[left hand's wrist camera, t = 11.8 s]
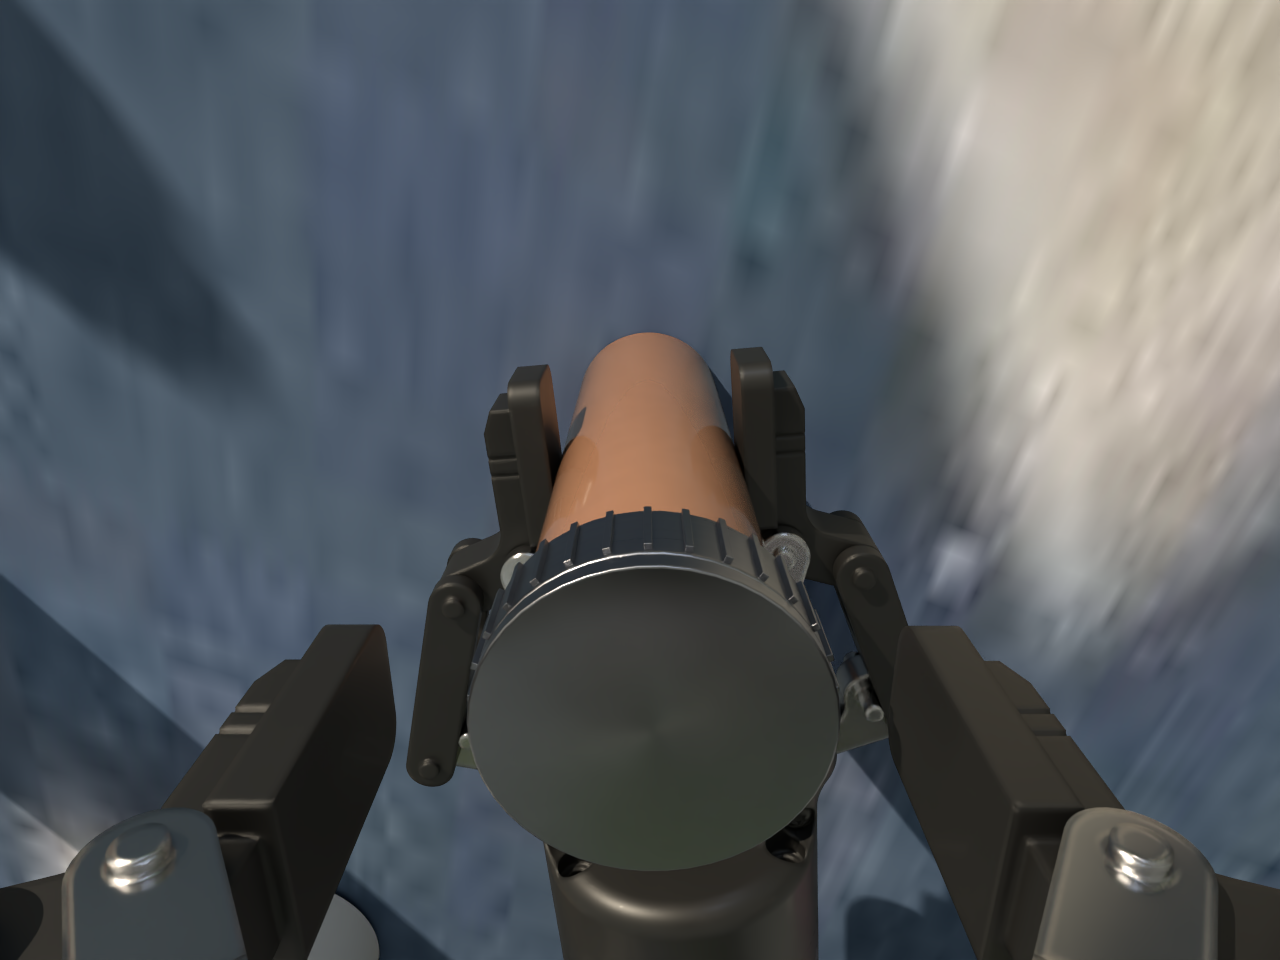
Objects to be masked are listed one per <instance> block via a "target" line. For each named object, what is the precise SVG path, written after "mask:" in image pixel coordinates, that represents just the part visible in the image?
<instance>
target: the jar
mask: <svg viewBox="0 0 1280 960" xmlns="http://www.w3.org/2000/svg"><path fill="white" fill-rule="evenodd" d="M644 506H651V507H652V511H669V512H678V513H681V511H682V508H683V509H689V511H690V515H695V516H699V517H703V518H707V519H710V520H713V521H715V522H717V520H718V518H721V519H724V520H726V525H727V526H729V527H731V528H733V529H735V530H737V531H739V532H740V533H742V534H744V535H746V536H748V537H749V536H750V535H751V534H754V535H756V536H757V537H758V540H759V543H760V545H761V546H762V547H764V548H765V549H766V547H765V544H764V541H763V537H762V534H761V531H760V528H759V524H758V521H757V518H756V515H755V511H754V508H753V505H752V502H751V498H750V495H749V492H748V489H747V485H746V482H745V479H744V476H743V472H742V469H741V466H740V463H739V460H738V456H737V453H736V450H735V447H734V443H733V440H732V437H731V434H730V430H729V427H728V424H727V421H726V417H725V414H724V411H723V408H722V404H721V401H720V398H719V395H718V391H717V388H716V385H715V382H714V378H713V376H712V374H711V371H710V369H709V367H708V366H707V364H706V362H705V361H704V360H703V358H702V357H701V356H700V355H699V354H698V353H697V352H696V351H695V350H694V349H693V348H691V347H690V346H689V345H687V344H686V343H684V342H682V341H681V340H679V339H676V338H674V337H671V336H668V335H664V334H659V333H638V334H633V335H629V336H626V337H623V338H621V339H618V340H616V341H614V342H613V343H611V344H609V345H608V346H607V347H605V348H604V349H603V350H602V351H601V352H600V353H599V354H598V355H597V356H596V357H595V358H594V359H593V361H592V362H591V364H590V365H589V367H588V369H587V371H586V373H585V375H584V378H583V381H582V384H581V388H580V392H579V395H578V399H577V403H576V406H575V410H574V414H573V417H572V421H571V425H570V428H569V432H568V436H567V439H566V443H565V446H564V450H563V454H562V457H561V461H560V465H559V468H558V472H557V476H556V479H555V483H554V487H553V490H552V494H551V498H550V501H549V505H548V509H547V512H546V516H545V520H544V523H543V527H542V530H541V534H540V538H539V541H538V545H537V549H536V552H537V551H538V548H539V544H540V542H541V541H543V540H544V539H546V540H547V541H548V542H550V541H551V540H553V539H554V538H556V537H558V536H560V535H562V534H563V533H565V532H567V531H569V530H570V526H571V524H572V523H574V522H578V523H579V525H582V524H585V523H587V522H590V521H592V520H595V519H599V518H603V517H606V512H607V511H612V510H613V511H614V514H620V513H628V512H635V511H644ZM536 552H535V553H536Z"/></svg>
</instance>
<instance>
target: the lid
mask: <svg viewBox="0 0 1280 960" xmlns="http://www.w3.org/2000/svg"><path fill="white" fill-rule="evenodd" d="M831 661H834V657H833V654H832V651H831V649H830V646H829V643H828V641H827V638H826V636H825V633H824V630H823V628H822V625H821V622H820V620H819V617H818V614H817V612H816V609H814V610H813V607H812V604H811V601H810V599H809V596H808V593H807V591H806V588H805V585H804V584H803V582H802V581H799V582H797V583H796V582H795V580H794V578H793V577H792V576H791V575H790V573H789V571H788V568H787V565H786V562H785V559H784V558H783V557H782V556H781V555H779V556H778V557H776V558H775V557H774V556H773V555H772V554H771V553H770V552H769V551H768V550H766V549H765V548H764V547H762V546H761V545H760V543H759V540H758V537H757V536H756V535H754V534H751V535H750V536H749V537H748V536H746V535H744V534H742V533H740V532H739V531H737V530H735V529H733V528H731V527H729V526H727V525H726V520H724V519H721V518H718V520H717V522H715V521H713V520H710V519H707V518H703V517H699V516H695V515H690V511H689V509H683V508H682V511H681V513H678V512H669V511H652V507H651V506H644V511H635V512H628V513H620V514H614V511H613V510H612V511H607V512H606V517H603V518H599V519H595V520H592V521H590V522H587V523H585V524H582V525H579V523H578V522H574V523H572V524H571V526H570V530H569V531H567V532H565V533H563V534H562V535H560V536H558V537H556V538H554V539H553V540H551V541H550V542H548V541H547V540H546V539H544V540H543V541H541V542H540V544H539V548H538V551H537V552H536V553H535V554H533V555H532V556H531V557H530V558H529V559H528V560H527V561H526V562H525V563H524V564H522V563H521V562H518V563H517V564H516V565H515V567H514V571H513V574H512V577H511V580H510V582H509V583H508V585H507V587H506V589H505V590H503V589H500V588H499V590H498V592H497V593H496V596H495V599H494V602H493V605H492V608H491V611H490V614H489V617H487V619H486V622H485V625H484V628H483V631H482V634H481V637H480V640H479V643H478V646H477V649H476V652H475V655H474V657H473V660H472V663H471V667H470V669H472V670H475V673H474V676H473V679H472V682H471V685H470V688H469V691H468V694H467V701H468V704H467V729H468V737H469V744H470V747H471V751H472V754H473V758H474V761H475V764H476V766H477V768H478V770H479V773H480V775H481V777H482V779H483V781H484V783H485V784H486V786H487V788H488V789H489V791H490V792H491V794H492V795H493V797H494V798H495V800H496V801H497V802H498V803H499V804H500V805H501V807H502V808H503V809H504V810H505V811H506V813H507V814H508V815H510V816H511V817H512V818H513V819H514V820H515V821H516V822H517V823H518V824H519V825H521V826H522V827H523V828H524V829H526V830H527V831H528V832H530V833H531V834H533V835H534V836H535V837H537V838H538V839H540V840H541V841H543V842H545V843H547V844H549V845H550V846H552V847H554V848H556V849H558V850H560V851H562V852H564V853H567V854H569V855H572V856H574V857H576V858H579V859H582V860H586V861H589V862H592V863H596V864H599V865H604V866H609V867H614V868H619V869H627V870H639V871H669V870H679V869H688V868H693V867H698V866H703V865H707V864H712V863H715V862H718V861H721V860H724V859H727V858H730V857H733V856H735V855H738V854H740V853H742V852H744V851H747V850H749V849H751V848H753V847H755V846H757V845H758V844H760V843H762V842H763V841H765V840H767V839H769V838H770V837H772V836H773V835H774V834H776V833H777V832H778V831H780V830H781V829H782V828H784V827H785V826H786V825H788V824H789V823H790V822H791V821H792V820H793V819H794V818H795V817H796V816H797V815H798V814H799V813H800V812H801V811H802V810H803V809H804V808H805V807H806V805H807V804H808V803H809V802H810V801H811V799H812V798H813V797H814V796H815V794H816V793H817V791H818V789H819V788H820V786H821V784H822V783H823V781H824V779H825V778H826V776H827V773H828V771H829V768H830V766H831V764H832V761H833V759H834V755H835V751H836V747H837V743H838V740H839V731H840V720H841V715H840V701H839V695H838V693H840V689H839V684H838V682H837V679H836V676H835V673H834V671H833V668H832V665H831V663H830V662H831Z"/></svg>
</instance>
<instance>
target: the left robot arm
mask: <svg viewBox="0 0 1280 960" xmlns="http://www.w3.org/2000/svg"><path fill="white" fill-rule="evenodd" d="M235 708H236V710H235V712H232V713H231V714H230V715H229V717H228V718H227V719H226V721H225V722H224V723H223V725H222V726H221V727H220V732H219V734H215V736H214V737H213V738H212V740H211V741H210V742H209V744H208V745H207V746H206V748H205V749H204V751H203V752H202V753H201V755H200V756H199V757H198V759H197V760H196V761H195V763H194V764H193V765H192V767H191V768H190V769H189V771H188V772H187V774H186V775H185V776H184V778H183V779H182V780H181V782H180V783H179V784H178V786H177V787H176V788H175V790H174V791H173V792H172V794H171V795H170V797H169V798H168V799H167V801H166V802H165V803H164V805H163V806H162V807H161V809H157V810H153V811H148V812H145V813H142V814H139V815H136V816H134V817H131V818H129V819H126V820H124V821H122V822H120V823H118V824H116V825H114V826H112V827H111V828H109V829H107V830H106V831H104V832H103V833H101V834H100V835H98V836H97V837H96V838H94V839H93V840H92V841H90V842H89V843H88V844H87V845H86V846H85V847H84V848H83V849H82V850H81V851H80V852H79V853H78V854H77V855H76V856H75V858H74V859H73V860H72V862H71V863H70V865H69V866H68V868H67V870H66V872H65V873H62V874H58V875H54V876H50V877H46V878H42V879H38V880H33V881H29V882H25V883H21V884H17V885H13V886H8V887H4V888H0V960H307V959H308V957H309V954H310V952H311V949H312V947H313V945H314V942H315V940H316V937H317V935H318V933H319V930H320V928H321V925H322V923H323V921H324V918H325V916H326V913H327V911H328V909H329V906H330V904H331V901H332V899H333V897H334V894H335V892H336V889H337V887H338V884H339V882H340V880H341V877H342V875H343V872H344V870H345V868H346V865H347V863H348V860H349V858H350V856H351V853H352V851H353V848H354V846H355V844H356V841H357V839H358V836H359V834H360V832H361V829H362V827H363V824H364V822H365V820H366V817H367V815H368V812H369V810H370V808H371V805H372V803H373V800H374V798H375V796H376V793H377V791H378V788H379V786H380V783H381V781H382V779H383V776H384V774H385V771H386V769H387V767H388V764H389V762H390V759H391V756H392V753H393V748H394V743H395V736H396V711H395V704H394V696H393V689H392V681H391V674H390V666H389V658H388V651H387V643H386V637H385V633H384V630H383V628H382V627H381V626H380V625H325V626H324V627H323V628H322V629H321V631H320V632H319V634H318V635H317V636H316V638H315V639H314V641H313V642H312V644H311V645H310V647H309V648H308V650H307V651H306V653H305V654H304V656H303V657H302V659H301V660H284V661H283V662H281V663H280V664H279V665H277V666H276V667H274V668H273V669H271V670H270V671H269V672H267V673H266V674H264V675H263V676H262V677H260V678H259V679H257V680H256V681H255V682H254V683H253V684H252V686H251V687H250V688H249V690H248V691H247V692H246V694H245V695H244V696H243V698H242V699H241V700H240V702H239V703H238V704H237V706H236V707H235ZM888 737H889V744H890V750H891V754H892V757H893V760H894V763H895V766H896V768H897V770H898V773H899V775H900V777H901V780H902V782H903V784H904V787H905V789H906V792H907V794H908V796H909V799H910V801H911V803H912V806H913V808H914V811H915V813H916V815H917V818H918V820H919V822H920V825H921V827H922V830H923V832H924V834H925V837H926V839H927V841H928V844H929V846H930V849H931V851H932V853H933V856H934V858H935V860H936V863H937V865H938V867H939V870H940V872H941V875H942V877H943V879H944V882H945V884H946V886H947V889H948V891H949V894H950V896H951V898H952V901H953V903H954V905H955V908H956V910H957V913H958V915H959V917H960V920H961V922H962V924H963V927H964V929H965V932H966V934H967V936H968V939H969V941H970V943H971V946H972V948H973V950H974V953H975V955H976V958H977V960H1280V889H1276V888H1271V887H1267V886H1263V885H1259V884H1255V883H1251V882H1246V881H1242V880H1238V879H1234V878H1230V877H1226V876H1223V875H1219V874H1216V873H1215V872H1214V870H1213V868H1212V866H1211V865H1210V863H1209V862H1208V860H1207V859H1206V858H1205V856H1204V855H1203V854H1202V853H1201V852H1200V851H1199V850H1198V849H1197V848H1196V847H1195V846H1194V845H1193V844H1192V843H1191V842H1190V841H1188V840H1187V839H1186V838H1184V837H1183V836H1182V835H1180V834H1179V833H1177V832H1176V831H1174V830H1173V829H1171V828H1169V827H1168V826H1166V825H1164V824H1162V823H1160V822H1158V821H1156V820H1154V819H1151V818H1149V817H1146V816H1144V815H1141V814H1138V813H1135V812H1132V811H1127V810H1125V809H1124V808H1123V806H1122V805H1121V804H1120V802H1119V801H1118V800H1117V798H1116V797H1115V796H1114V794H1113V793H1112V792H1111V790H1110V789H1109V788H1108V786H1107V785H1106V784H1105V782H1104V781H1103V780H1102V778H1101V777H1100V775H1099V774H1098V773H1097V771H1096V770H1095V769H1094V767H1093V766H1092V765H1091V763H1090V762H1089V761H1088V759H1087V758H1086V757H1085V755H1084V754H1083V753H1082V751H1081V750H1080V749H1079V747H1078V746H1077V745H1076V743H1075V742H1074V741H1073V739H1072V738H1071V737H1070V736H1067V735H1066V730H1065V729H1064V727H1063V726H1062V725H1061V723H1060V722H1059V721H1058V719H1057V718H1056V717H1055V715H1054V714H1050V708H1049V707H1048V706H1047V704H1046V703H1045V702H1044V700H1043V699H1042V698H1041V696H1040V695H1039V694H1038V692H1037V691H1036V690H1035V688H1034V687H1033V686H1032V684H1031V683H1030V682H1028V681H1027V680H1025V679H1024V678H1023V677H1021V676H1020V675H1018V674H1017V673H1016V672H1014V671H1013V670H1011V669H1010V668H1008V667H1007V666H1006V665H1004V664H1003V663H1001V662H1000V661H984V660H983V659H982V657H981V656H980V654H979V653H978V651H977V650H976V649H975V647H974V646H973V644H972V643H971V641H970V640H969V638H968V637H967V635H966V634H965V632H964V631H963V630H962V629H961V628H960V627H958V626H905V627H903V629H902V630H901V632H900V635H899V640H898V646H897V653H896V661H895V668H894V676H893V683H892V690H891V698H890V705H889V713H888Z"/></svg>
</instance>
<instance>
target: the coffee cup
mask: <svg viewBox="0 0 1280 960" xmlns="http://www.w3.org/2000/svg"><path fill="white" fill-rule="evenodd" d="M378 959H379V944H378V940H377V937H376V934H375V932H374V930H373V928H372V926H371V925H370V923H369V922H368V920H367V919H366V918H365V916H364V915H363V914H362V913H361V912H360V911H359V910H358V909H357V908H355V907H354V906H353V905H352V904H350V903H349V902H348V901H346V900H345V899H343V898H341V897H340V896H338V895H336V894H334V897H333V899H332V901H331V904H330V906H329V909H328V911H327V913H326V916H325V918H324V921H323V923H322V925H321V928H320V930H319V933H318V935H317V937H316V940H315V942H314V945H313V947H312V949H311V952H310V954H309V957H308V959H307V960H378Z"/></svg>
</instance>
